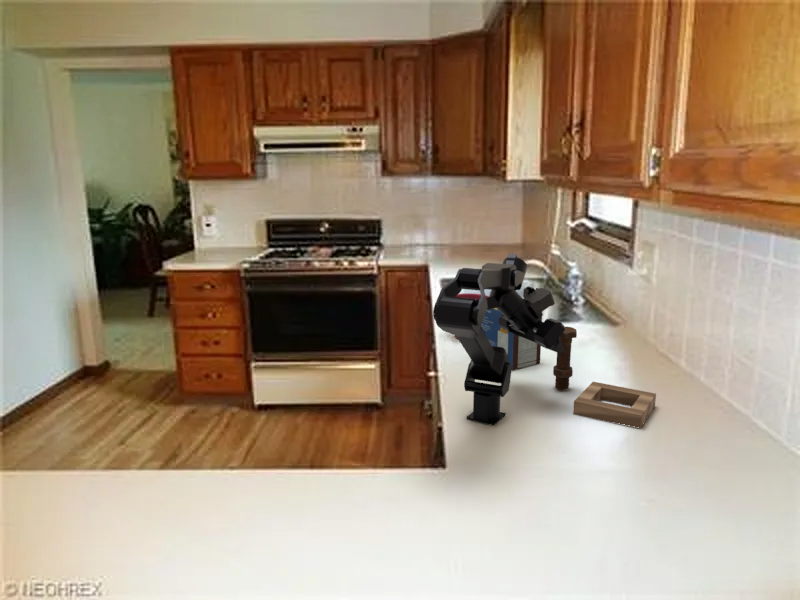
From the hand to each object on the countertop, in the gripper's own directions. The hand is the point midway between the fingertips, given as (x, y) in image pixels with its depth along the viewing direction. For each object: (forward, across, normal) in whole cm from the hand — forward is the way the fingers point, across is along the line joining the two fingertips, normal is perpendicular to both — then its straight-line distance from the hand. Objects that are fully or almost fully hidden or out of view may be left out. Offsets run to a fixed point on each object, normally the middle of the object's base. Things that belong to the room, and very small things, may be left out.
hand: (549, 346), depth 142 cm
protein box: (+11, +24, +5) cm, 27 cm away
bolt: (+11, 0, +5) cm, 12 cm away
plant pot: (+12, +47, +4) cm, 48 cm away
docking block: (+12, -15, +3) cm, 20 cm away
